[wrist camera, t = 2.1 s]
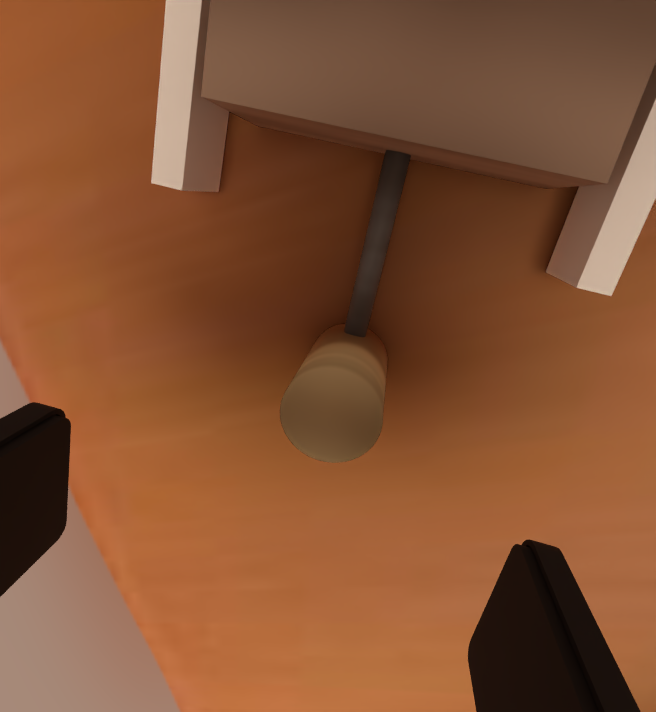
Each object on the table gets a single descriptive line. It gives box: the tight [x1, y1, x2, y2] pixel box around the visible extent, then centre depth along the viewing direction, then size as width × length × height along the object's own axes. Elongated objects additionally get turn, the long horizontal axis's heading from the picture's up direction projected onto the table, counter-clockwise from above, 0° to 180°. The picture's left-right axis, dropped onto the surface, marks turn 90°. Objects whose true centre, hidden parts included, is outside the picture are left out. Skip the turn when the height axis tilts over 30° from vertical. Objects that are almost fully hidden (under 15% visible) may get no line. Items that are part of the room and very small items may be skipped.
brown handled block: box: [201, 0, 656, 463], centre depth 13 cm, size 18×10×5 cm, turn 168°
